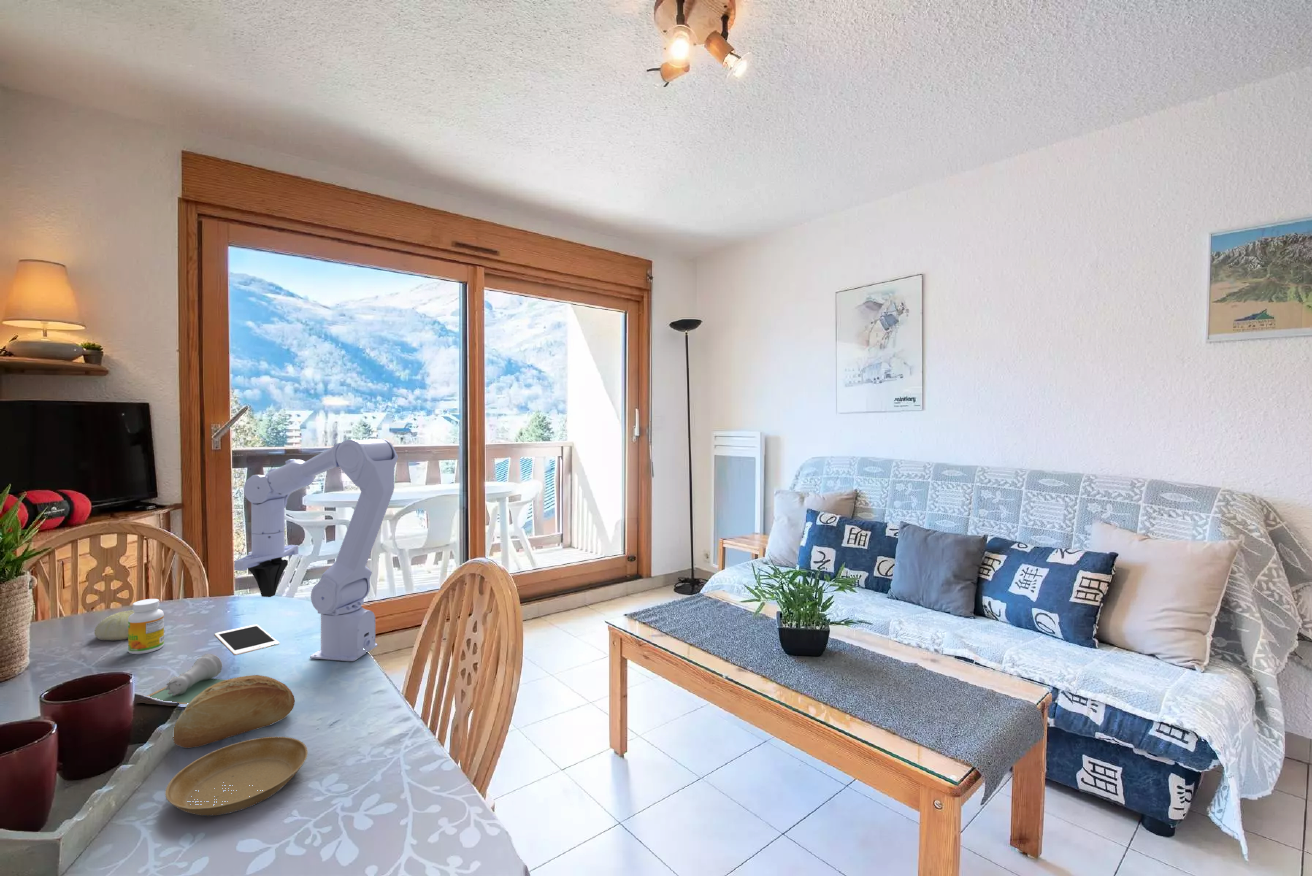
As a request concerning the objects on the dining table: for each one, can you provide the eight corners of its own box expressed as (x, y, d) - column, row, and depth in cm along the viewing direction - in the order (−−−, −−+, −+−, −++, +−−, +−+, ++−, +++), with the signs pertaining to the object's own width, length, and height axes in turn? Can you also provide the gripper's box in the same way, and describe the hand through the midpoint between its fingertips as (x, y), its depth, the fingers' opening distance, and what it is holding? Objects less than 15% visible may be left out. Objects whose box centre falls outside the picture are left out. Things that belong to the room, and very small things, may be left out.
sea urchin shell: (166, 622, 124) (131, 604, 119) (132, 656, 119) (95, 638, 114) (150, 614, 129) (117, 596, 124) (118, 646, 124) (82, 629, 119)
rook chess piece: (223, 677, 102) (184, 703, 94) (199, 673, 102) (159, 698, 94) (224, 654, 102) (186, 678, 94) (201, 650, 102) (160, 674, 94)
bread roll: (301, 727, 87) (301, 676, 87) (174, 766, 77) (174, 709, 77) (288, 704, 94) (288, 656, 94) (170, 737, 84) (170, 684, 84)
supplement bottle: (122, 651, 113) (121, 603, 112) (154, 642, 118) (154, 596, 117) (137, 656, 111) (137, 607, 110) (170, 646, 116) (169, 599, 115)
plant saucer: (237, 837, 65) (237, 815, 64) (132, 819, 67) (131, 797, 67) (333, 761, 79) (333, 743, 79) (243, 748, 82) (243, 730, 82)
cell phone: (235, 657, 112) (235, 654, 112) (214, 635, 123) (214, 633, 123) (280, 645, 118) (280, 642, 118) (256, 626, 129) (256, 623, 129)
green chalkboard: (248, 683, 101) (248, 680, 101) (201, 709, 92) (201, 706, 92) (188, 678, 102) (188, 676, 102) (136, 703, 93) (136, 700, 93)
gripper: (277, 524, 126) (278, 584, 126) (220, 537, 111) (220, 606, 112) (307, 525, 125) (307, 586, 125) (252, 539, 110) (252, 608, 111)
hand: (268, 595), depth 118 cm, fingers closed
